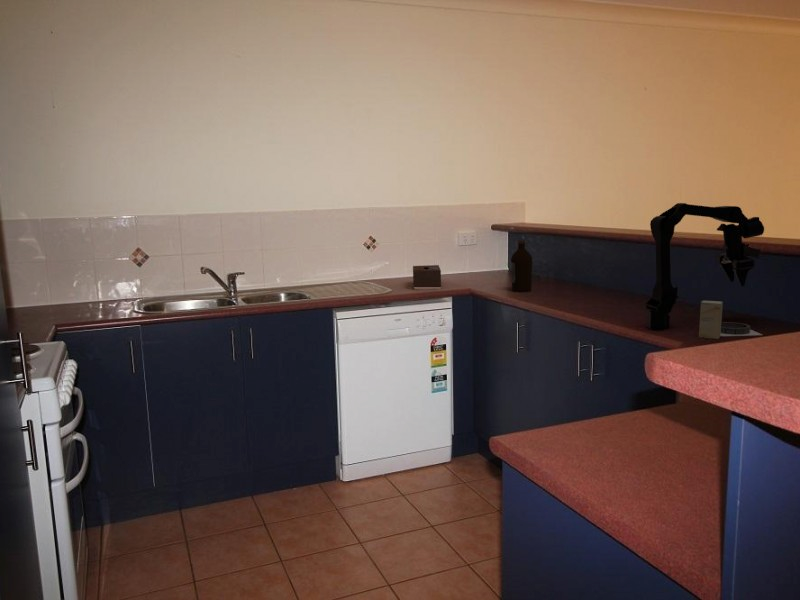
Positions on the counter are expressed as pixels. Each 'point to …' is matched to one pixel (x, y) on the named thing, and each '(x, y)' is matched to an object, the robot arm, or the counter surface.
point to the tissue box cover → (427, 276)
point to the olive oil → (521, 269)
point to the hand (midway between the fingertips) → (737, 283)
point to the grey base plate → (742, 334)
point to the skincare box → (710, 319)
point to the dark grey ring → (734, 328)
